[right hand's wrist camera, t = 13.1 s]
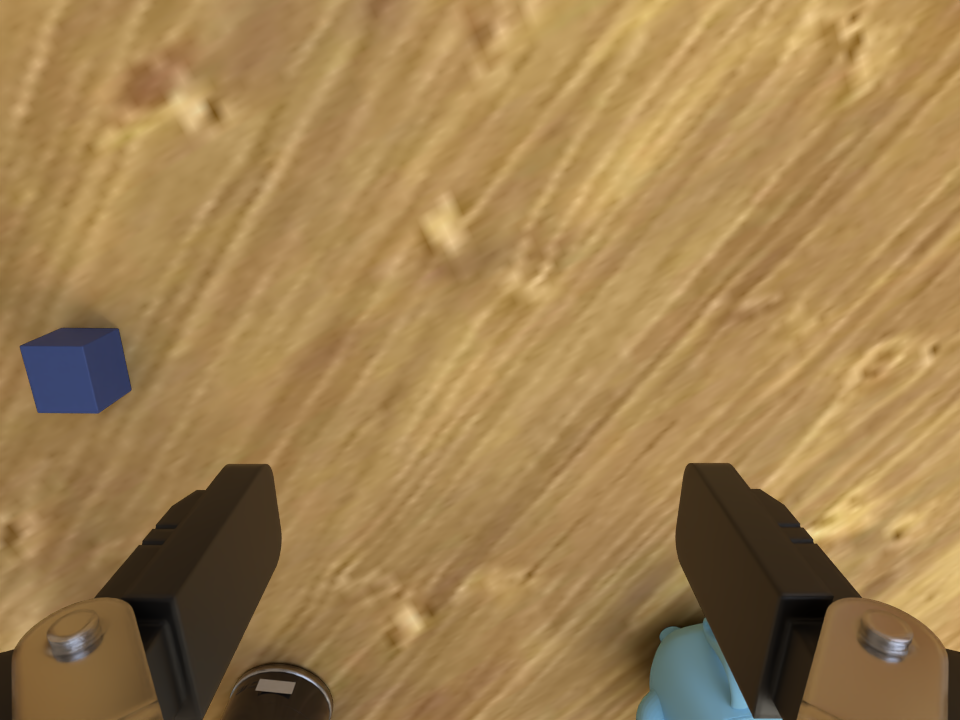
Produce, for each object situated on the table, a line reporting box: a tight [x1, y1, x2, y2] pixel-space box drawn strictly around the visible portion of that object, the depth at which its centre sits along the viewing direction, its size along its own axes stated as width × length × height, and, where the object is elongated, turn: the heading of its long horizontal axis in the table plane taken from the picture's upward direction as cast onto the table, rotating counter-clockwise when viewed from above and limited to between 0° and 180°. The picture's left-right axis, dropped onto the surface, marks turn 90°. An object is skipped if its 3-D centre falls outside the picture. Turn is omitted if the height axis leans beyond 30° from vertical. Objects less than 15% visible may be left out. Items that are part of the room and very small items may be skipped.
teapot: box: [636, 617, 782, 720], centre depth 48 cm, size 13×14×11 cm
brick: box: [20, 328, 131, 413], centre depth 41 cm, size 4×5×4 cm
